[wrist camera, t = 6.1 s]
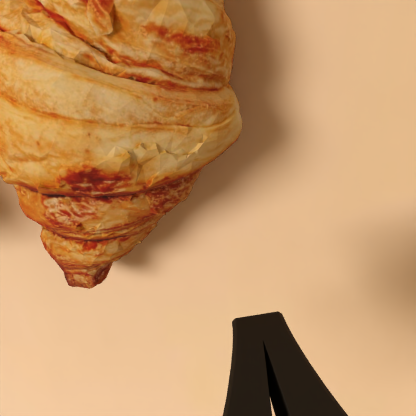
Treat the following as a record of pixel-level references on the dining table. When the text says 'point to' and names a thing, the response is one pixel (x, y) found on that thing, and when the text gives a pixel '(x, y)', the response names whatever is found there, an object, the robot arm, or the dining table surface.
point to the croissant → (110, 117)
